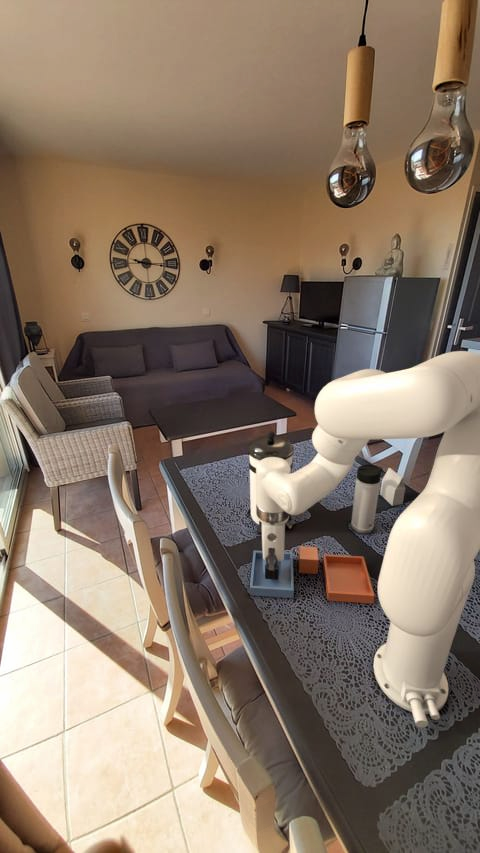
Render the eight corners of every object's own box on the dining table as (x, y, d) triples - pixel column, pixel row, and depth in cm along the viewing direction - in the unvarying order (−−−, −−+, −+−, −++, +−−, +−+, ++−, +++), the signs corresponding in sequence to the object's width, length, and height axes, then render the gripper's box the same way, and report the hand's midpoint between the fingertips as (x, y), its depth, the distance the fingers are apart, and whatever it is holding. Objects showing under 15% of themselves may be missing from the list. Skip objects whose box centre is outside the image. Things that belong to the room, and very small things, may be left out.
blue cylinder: (280, 578, 87) (281, 563, 85) (262, 577, 88) (262, 562, 86) (280, 564, 91) (281, 549, 89) (263, 563, 92) (263, 548, 90)
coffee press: (304, 514, 113) (309, 426, 101) (280, 543, 101) (282, 448, 89) (257, 497, 122) (256, 414, 110) (230, 522, 110) (225, 433, 98)
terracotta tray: (373, 603, 82) (374, 595, 81) (327, 600, 83) (328, 592, 82) (362, 563, 93) (363, 556, 92) (322, 561, 94) (323, 554, 93)
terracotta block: (317, 574, 90) (318, 560, 89) (299, 573, 91) (299, 559, 89) (316, 560, 95) (317, 547, 93) (298, 559, 95) (299, 546, 93)
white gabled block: (392, 505, 115) (396, 479, 111) (380, 494, 121) (383, 468, 117) (402, 504, 116) (407, 477, 112) (389, 492, 122) (393, 466, 118)
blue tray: (293, 598, 84) (293, 590, 83) (249, 595, 85) (249, 587, 84) (292, 559, 95) (292, 552, 94) (253, 557, 96) (253, 550, 95)
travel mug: (375, 535, 103) (384, 474, 95) (351, 532, 104) (358, 472, 96) (373, 521, 108) (381, 463, 101) (350, 519, 110) (356, 461, 102)
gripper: (290, 535, 74) (287, 599, 81) (288, 489, 89) (286, 547, 97) (253, 533, 75) (254, 597, 82) (258, 488, 90) (259, 545, 98)
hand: (272, 569), depth 89 cm, fingers closed on blue cylinder, 4 cm apart
